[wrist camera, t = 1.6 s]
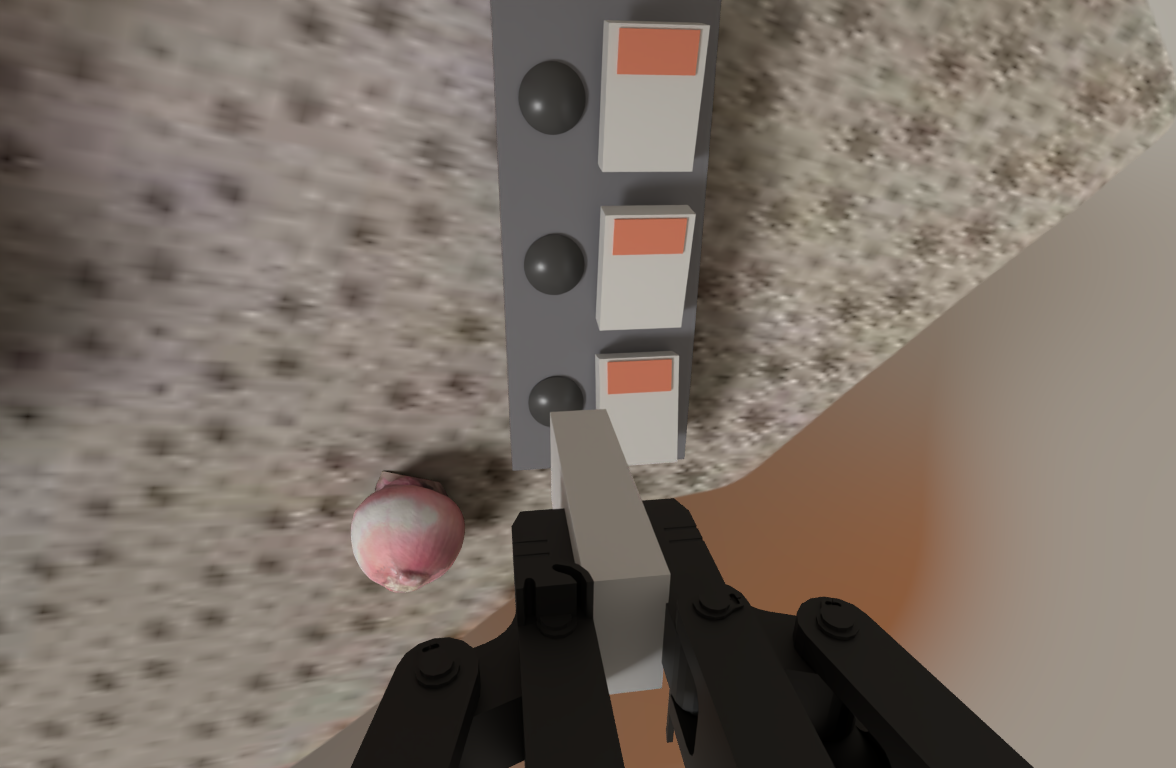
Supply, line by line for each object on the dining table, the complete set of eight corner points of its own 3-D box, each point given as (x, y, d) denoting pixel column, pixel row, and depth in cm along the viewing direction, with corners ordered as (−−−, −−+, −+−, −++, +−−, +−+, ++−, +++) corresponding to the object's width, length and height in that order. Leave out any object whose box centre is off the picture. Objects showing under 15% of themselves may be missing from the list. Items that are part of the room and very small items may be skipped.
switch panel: (510, 442, 46) (512, 472, 43) (490, 0, 35) (490, -13, 31) (669, 432, 48) (685, 460, 44) (698, 6, 37) (722, -5, 33)
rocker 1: (597, 163, 35) (602, 172, 34) (603, 20, 32) (609, 23, 30) (684, 163, 36) (692, 172, 35) (700, 22, 32) (711, 25, 31)
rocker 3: (596, 458, 42) (600, 468, 40) (595, 354, 40) (599, 359, 38) (670, 453, 42) (677, 462, 41) (672, 350, 41) (679, 355, 39)
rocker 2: (595, 318, 39) (600, 331, 38) (600, 205, 35) (605, 216, 34) (674, 315, 40) (681, 328, 38) (687, 204, 36) (696, 215, 34)
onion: (415, 552, 50) (371, 624, 44) (355, 478, 48) (301, 543, 42) (495, 524, 47) (461, 597, 41) (436, 444, 45) (390, 508, 39)
